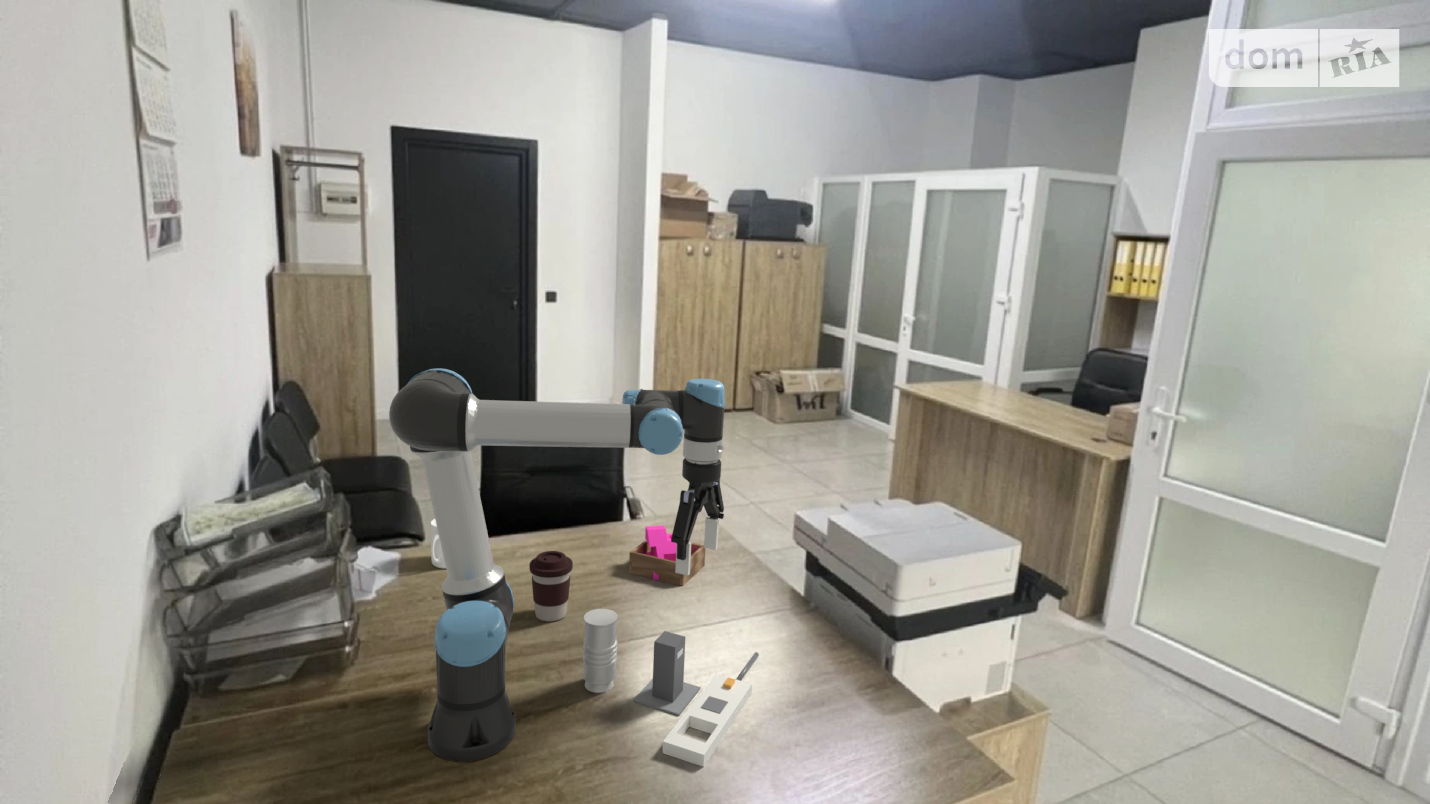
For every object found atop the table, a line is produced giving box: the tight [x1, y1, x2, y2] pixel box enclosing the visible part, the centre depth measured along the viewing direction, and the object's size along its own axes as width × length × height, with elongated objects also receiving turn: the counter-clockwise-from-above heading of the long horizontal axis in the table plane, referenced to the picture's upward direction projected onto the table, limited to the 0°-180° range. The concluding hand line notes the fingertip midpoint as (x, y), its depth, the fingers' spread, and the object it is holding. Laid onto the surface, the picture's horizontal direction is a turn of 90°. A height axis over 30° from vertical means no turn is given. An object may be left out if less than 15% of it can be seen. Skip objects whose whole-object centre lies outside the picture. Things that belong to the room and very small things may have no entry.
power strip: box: [662, 651, 760, 768], centre depth 152 cm, size 38×8×3 cm, turn 157°
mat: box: [633, 678, 701, 717], centre depth 153 cm, size 10×10×1 cm
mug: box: [429, 518, 446, 570], centre depth 205 cm, size 9×12×12 cm
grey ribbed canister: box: [582, 608, 619, 694], centre depth 154 cm, size 7×7×15 cm
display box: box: [628, 540, 706, 587], centre depth 209 cm, size 14×16×6 cm
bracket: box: [644, 524, 677, 581], centre depth 209 cm, size 12×10×10 cm
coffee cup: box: [528, 550, 574, 623], centre depth 181 cm, size 10×10×15 cm
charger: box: [652, 630, 686, 703], centre depth 152 cm, size 5×5×12 cm
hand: (697, 560), depth 153 cm, fingers open, 13 cm apart
